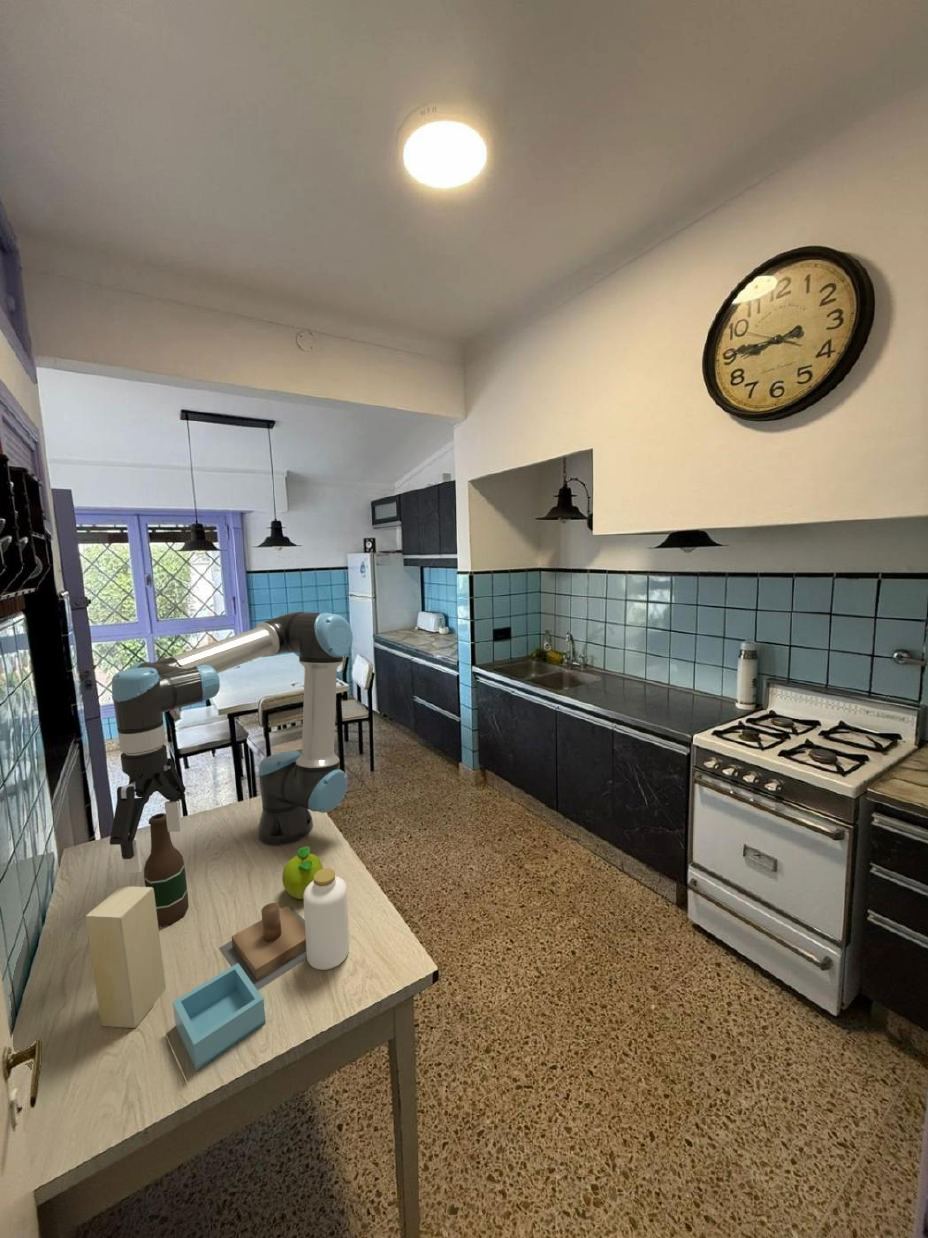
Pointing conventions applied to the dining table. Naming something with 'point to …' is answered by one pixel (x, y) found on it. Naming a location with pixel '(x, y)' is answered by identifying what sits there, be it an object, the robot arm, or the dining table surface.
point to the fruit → (300, 872)
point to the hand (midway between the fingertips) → (155, 850)
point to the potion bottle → (326, 920)
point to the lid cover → (270, 941)
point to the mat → (234, 959)
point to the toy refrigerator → (126, 956)
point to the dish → (218, 1015)
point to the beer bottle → (166, 874)
